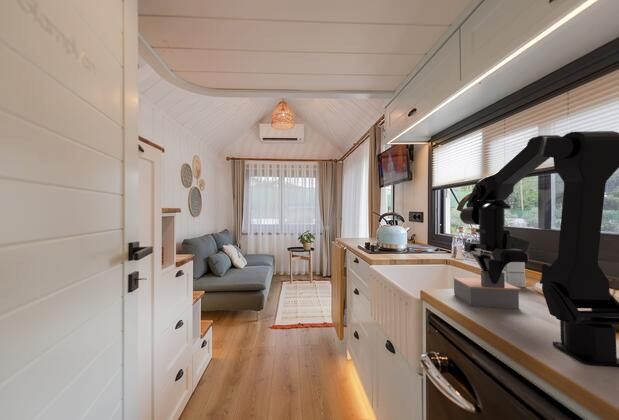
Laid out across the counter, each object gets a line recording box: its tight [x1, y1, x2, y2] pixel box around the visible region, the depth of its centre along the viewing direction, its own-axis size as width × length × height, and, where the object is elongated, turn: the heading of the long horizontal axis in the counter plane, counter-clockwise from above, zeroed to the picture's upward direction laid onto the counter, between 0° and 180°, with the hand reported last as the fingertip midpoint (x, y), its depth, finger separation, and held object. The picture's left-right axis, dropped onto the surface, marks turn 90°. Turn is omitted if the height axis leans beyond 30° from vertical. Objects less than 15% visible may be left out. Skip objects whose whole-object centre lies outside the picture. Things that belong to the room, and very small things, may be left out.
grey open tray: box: [453, 279, 520, 309], centre depth 71 cm, size 10×12×5 cm
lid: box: [453, 270, 522, 291], centre depth 71 cm, size 10×12×4 cm
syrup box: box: [502, 262, 527, 288], centre depth 89 cm, size 6×6×14 cm
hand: (492, 282), depth 67 cm, fingers closed on lid, 2 cm apart
